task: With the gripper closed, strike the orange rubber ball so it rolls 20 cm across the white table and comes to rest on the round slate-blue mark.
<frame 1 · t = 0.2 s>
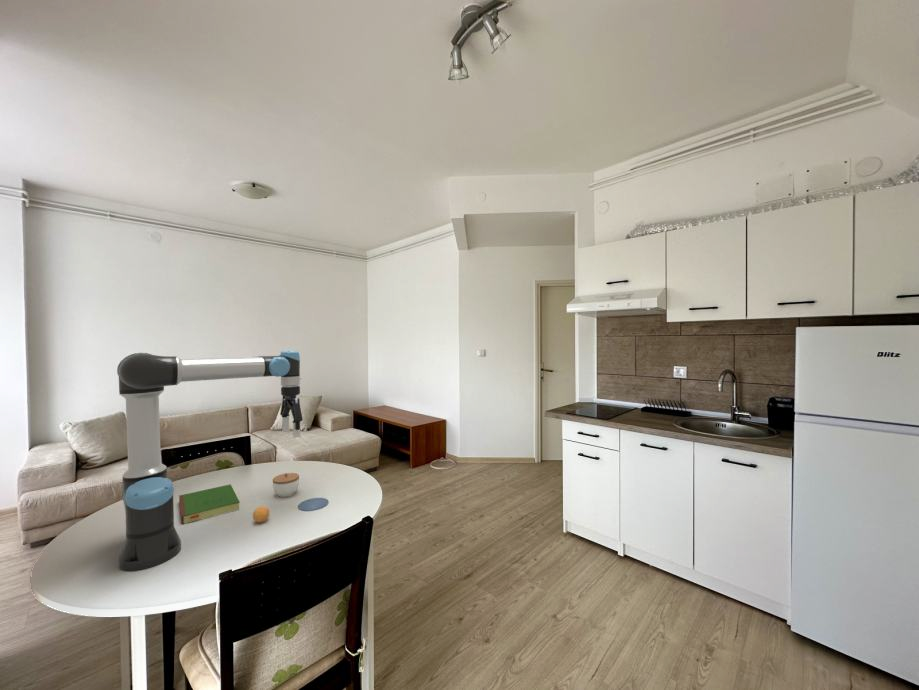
hand: (291, 434, 160), 28 cm above the table, tool pointing down, fingers open, 13 cm apart
ball: (261, 514, 138), on the table
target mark: (313, 504, 153), on the table
lidded jar: (286, 494, 163), on the table
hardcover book: (208, 508, 152), on the table
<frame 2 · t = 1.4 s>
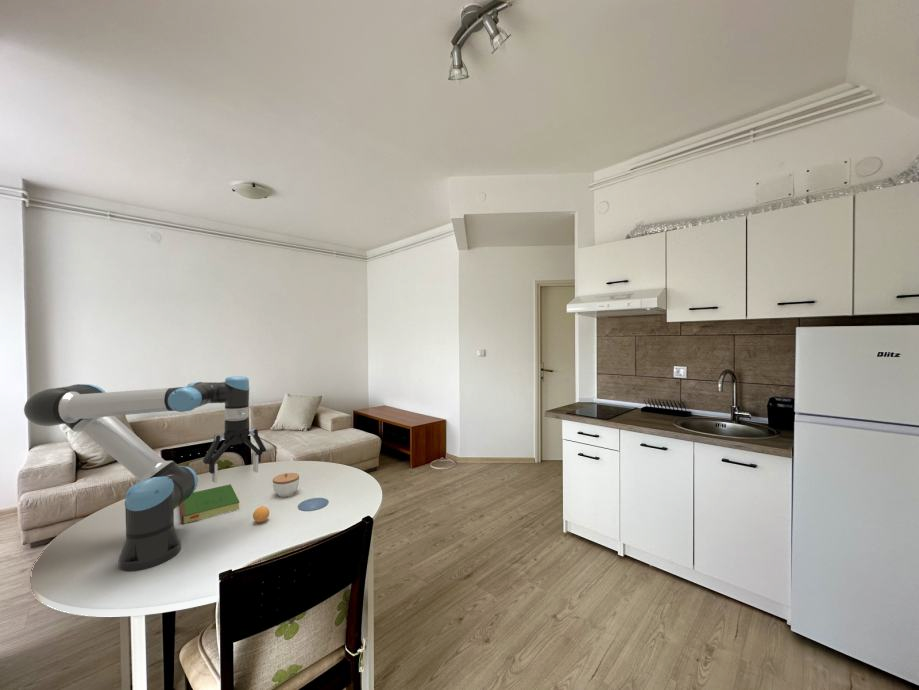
hand: (235, 476, 134), 19 cm above the table, tool pointing down, fingers open, 13 cm apart
nothing on the table moved.
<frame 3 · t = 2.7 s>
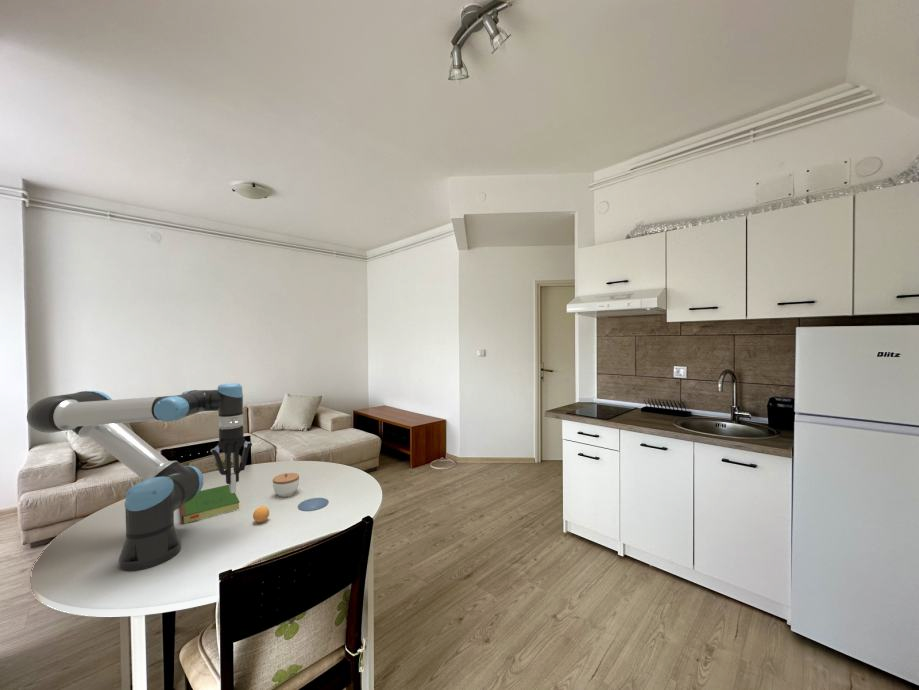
hand: (232, 491, 132), 14 cm above the table, tool pointing down, fingers closed
nothing on the table moved.
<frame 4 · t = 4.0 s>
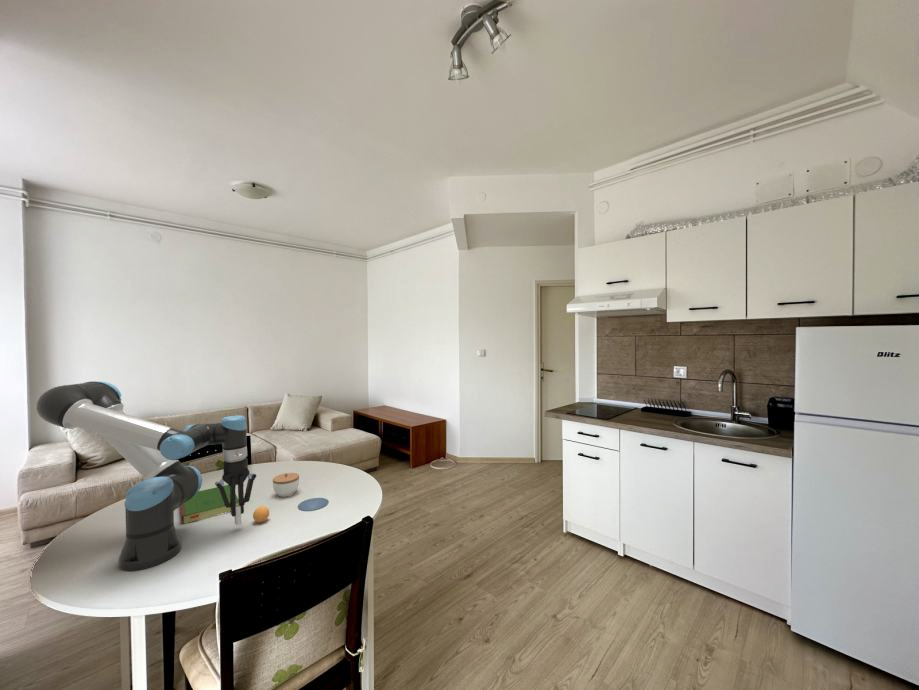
hand: (237, 523, 132), 2 cm above the table, tool pointing down, fingers closed
nothing on the table moved.
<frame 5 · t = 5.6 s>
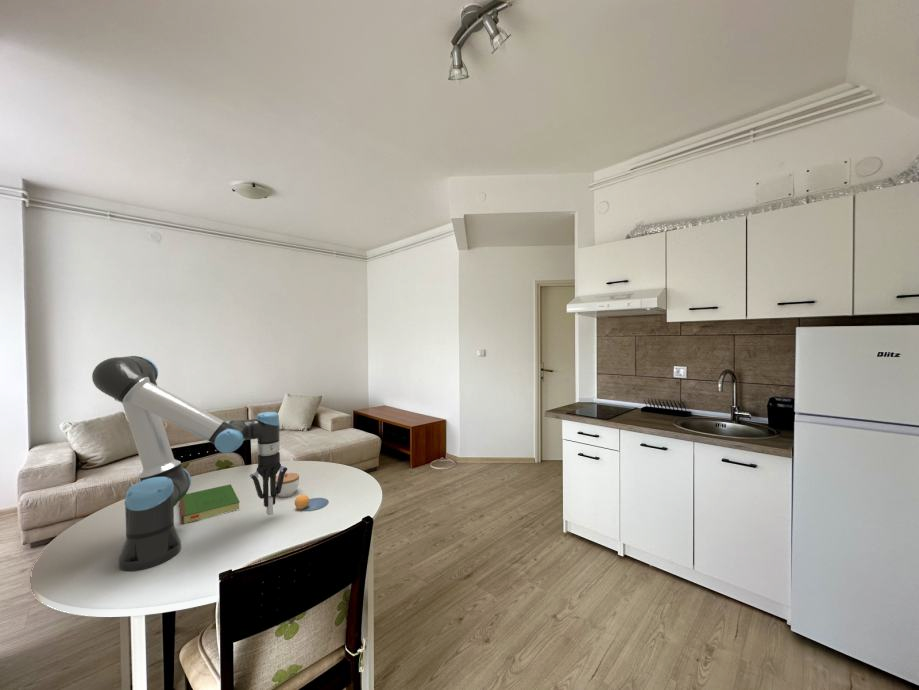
hand: (269, 513, 141), 2 cm above the table, tool pointing down, fingers closed
ball: (302, 501, 149), on the table
everything else where it was.
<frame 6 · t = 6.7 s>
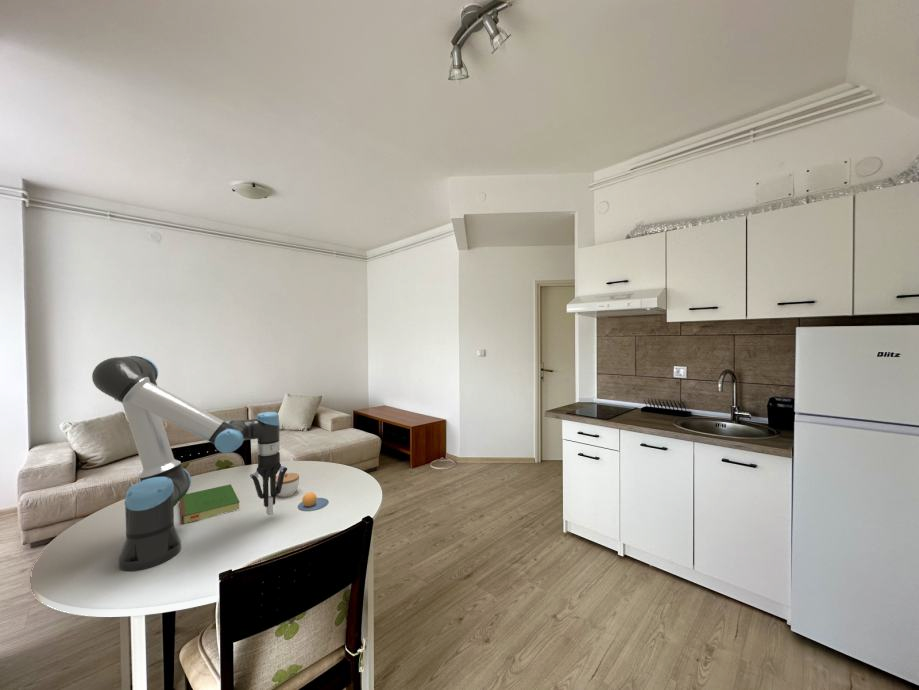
hand: (269, 513, 141), 2 cm above the table, tool pointing down, fingers closed
ball: (309, 499, 151), on the table
everything else where it was.
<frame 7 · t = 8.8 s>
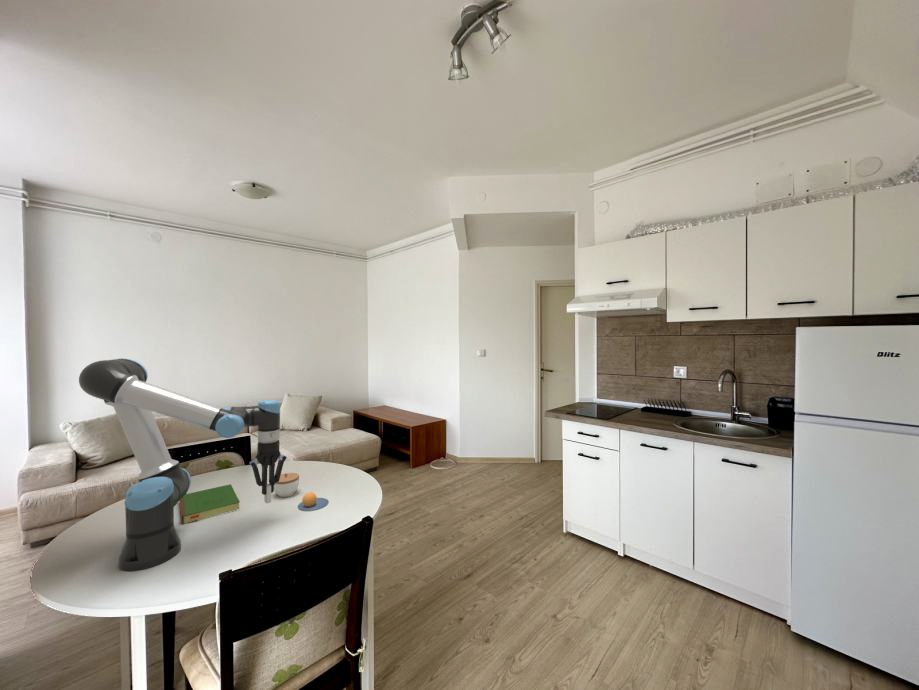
hand: (267, 501, 140), 7 cm above the table, tool pointing down, fingers closed
nothing on the table moved.
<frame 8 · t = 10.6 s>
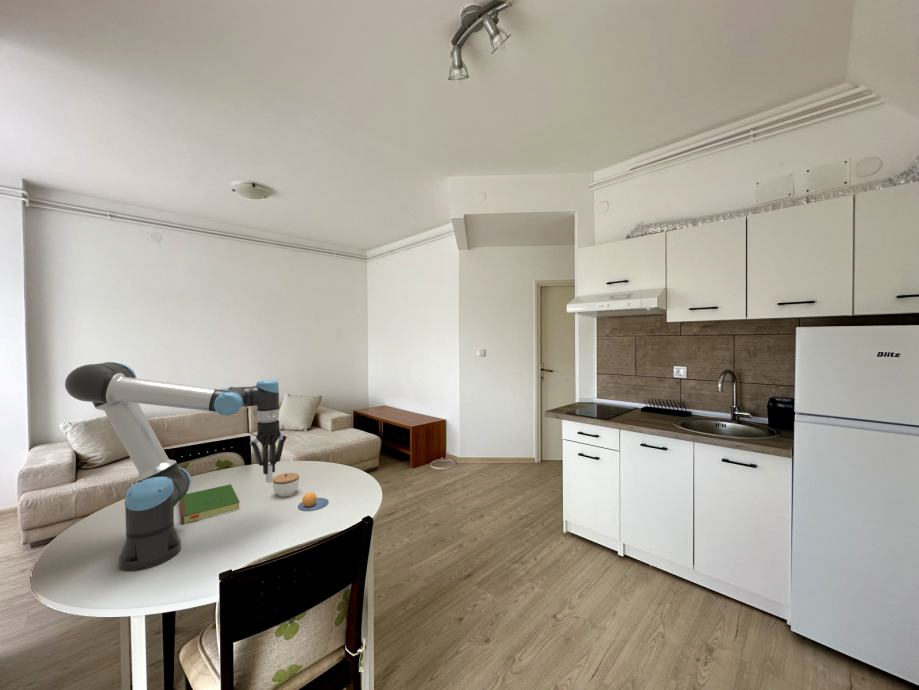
hand: (269, 481, 140), 14 cm above the table, tool pointing down, fingers closed
nothing on the table moved.
at the end: ball 1.7 cm from the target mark (horizontally); ball at rest at the end (0.0 cm/s); ball moved 18.3 cm from its start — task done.
